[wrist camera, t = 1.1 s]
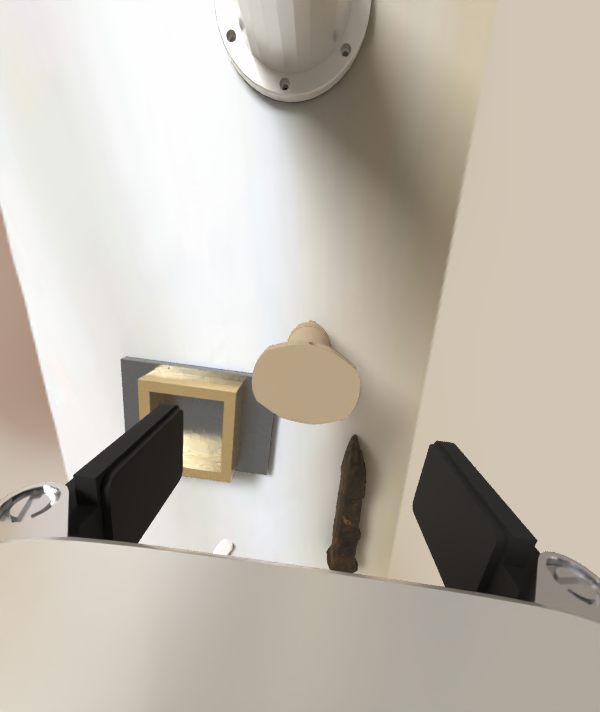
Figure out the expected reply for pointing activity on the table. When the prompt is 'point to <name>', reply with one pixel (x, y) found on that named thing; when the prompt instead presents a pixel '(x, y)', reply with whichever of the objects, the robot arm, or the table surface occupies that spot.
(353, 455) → the dark brown carved statuette
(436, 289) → the table surface
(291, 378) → the handle
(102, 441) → the table surface
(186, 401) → the collar base
